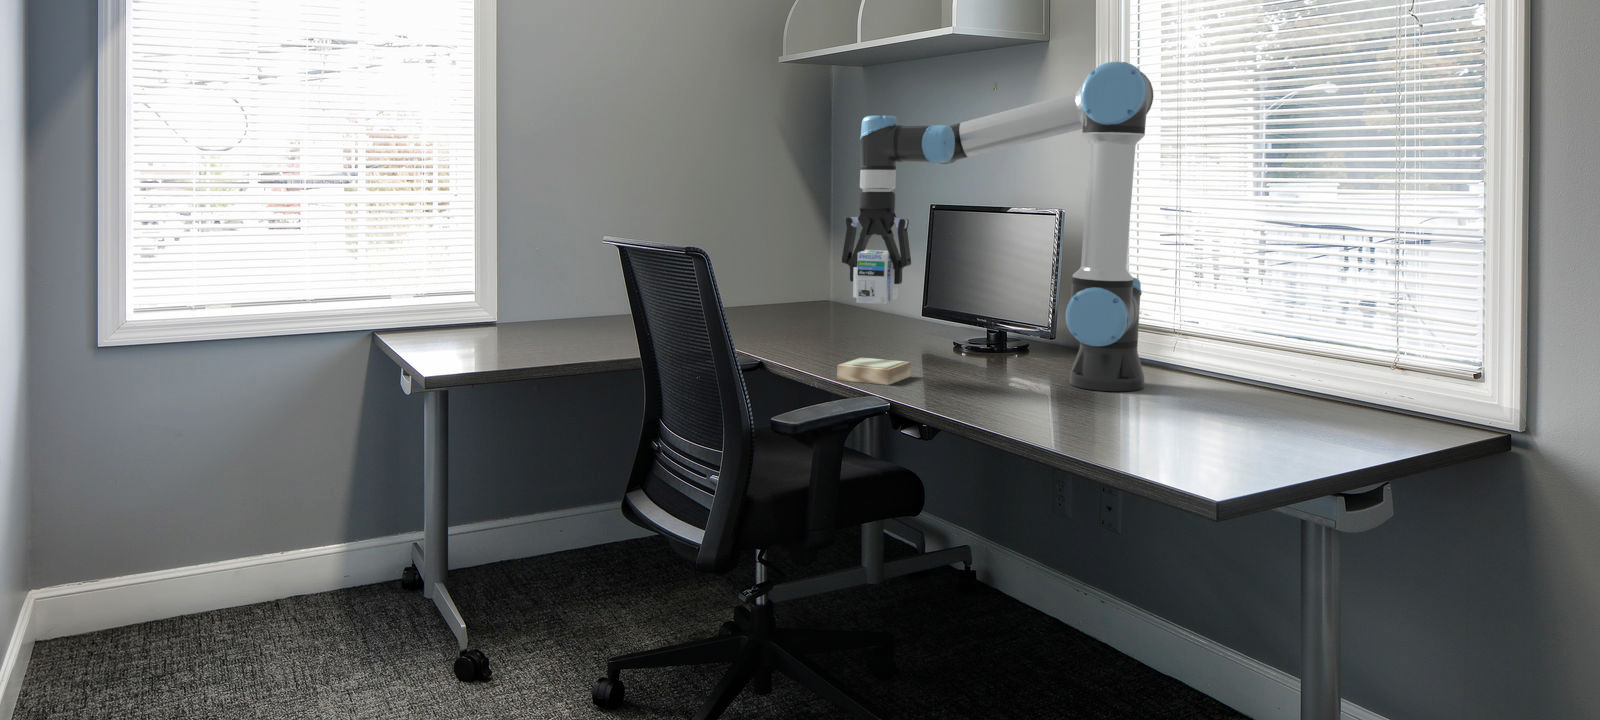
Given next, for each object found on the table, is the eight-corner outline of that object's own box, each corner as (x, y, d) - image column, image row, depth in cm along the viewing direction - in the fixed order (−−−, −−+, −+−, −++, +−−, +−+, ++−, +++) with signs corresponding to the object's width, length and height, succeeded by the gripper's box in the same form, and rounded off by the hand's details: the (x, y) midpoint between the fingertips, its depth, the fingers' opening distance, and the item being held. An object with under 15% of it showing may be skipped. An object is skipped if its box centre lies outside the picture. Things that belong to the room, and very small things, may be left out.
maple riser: (910, 376, 245) (910, 361, 244) (888, 384, 234) (888, 368, 234) (860, 371, 251) (861, 356, 250) (837, 379, 240) (837, 364, 240)
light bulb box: (887, 304, 234) (888, 253, 232) (855, 303, 235) (856, 252, 234) (893, 299, 244) (895, 250, 243) (863, 298, 246) (864, 249, 244)
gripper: (929, 191, 235) (926, 299, 238) (841, 189, 244) (839, 293, 248) (916, 191, 228) (913, 302, 232) (825, 190, 238) (824, 296, 241)
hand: (875, 298), depth 240 cm, fingers closed on light bulb box, 8 cm apart
